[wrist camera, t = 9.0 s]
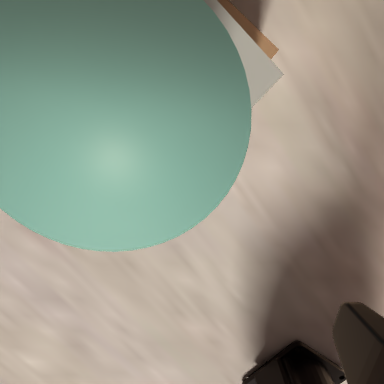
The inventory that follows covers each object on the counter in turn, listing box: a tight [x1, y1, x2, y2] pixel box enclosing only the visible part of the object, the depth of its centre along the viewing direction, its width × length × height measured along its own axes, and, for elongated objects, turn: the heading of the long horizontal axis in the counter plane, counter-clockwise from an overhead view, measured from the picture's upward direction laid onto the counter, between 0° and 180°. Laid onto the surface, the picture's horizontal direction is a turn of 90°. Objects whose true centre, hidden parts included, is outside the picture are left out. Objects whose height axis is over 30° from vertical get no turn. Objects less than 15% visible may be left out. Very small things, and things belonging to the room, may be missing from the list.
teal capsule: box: [0, 0, 251, 252], centre depth 8 cm, size 5×5×5 cm
